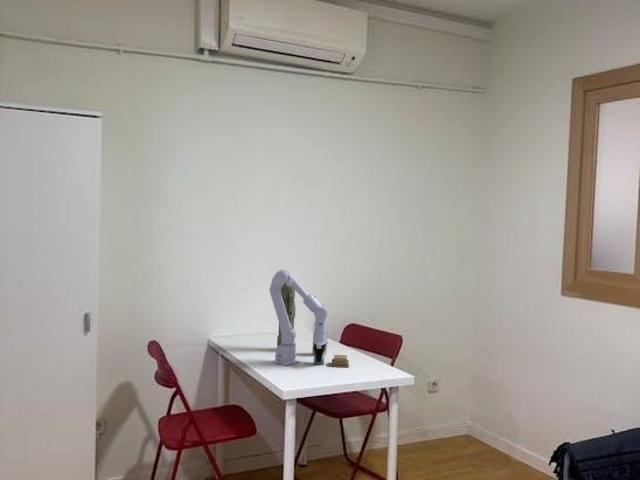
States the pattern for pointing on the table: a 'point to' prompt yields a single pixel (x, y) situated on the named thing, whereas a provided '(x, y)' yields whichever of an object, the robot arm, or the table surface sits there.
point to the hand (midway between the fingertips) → (318, 360)
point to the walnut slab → (340, 364)
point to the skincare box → (325, 346)
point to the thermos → (288, 306)
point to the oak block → (340, 358)
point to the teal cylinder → (319, 362)
